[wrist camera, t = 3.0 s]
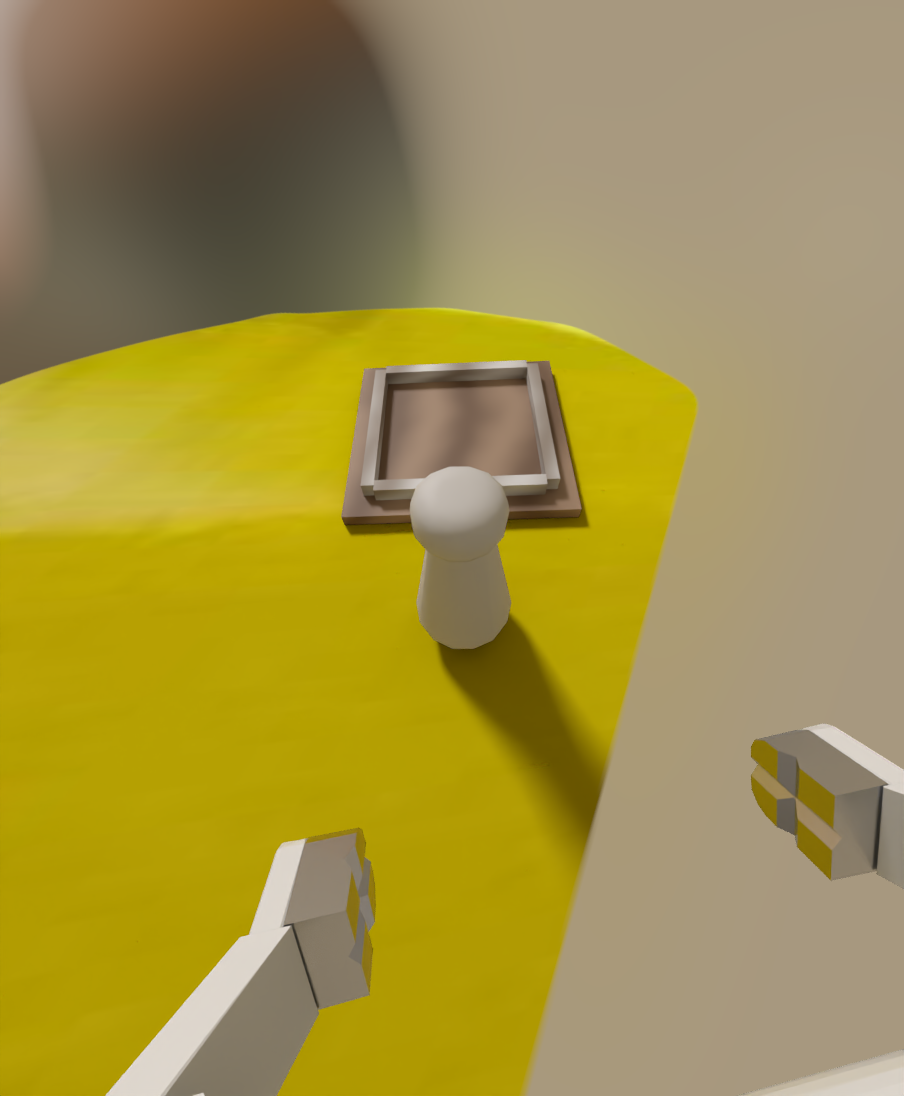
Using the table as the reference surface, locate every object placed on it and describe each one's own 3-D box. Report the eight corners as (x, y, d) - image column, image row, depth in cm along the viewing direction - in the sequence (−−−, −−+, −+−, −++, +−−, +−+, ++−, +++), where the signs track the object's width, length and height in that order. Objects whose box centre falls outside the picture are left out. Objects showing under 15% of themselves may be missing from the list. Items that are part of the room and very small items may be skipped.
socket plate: (344, 524, 33) (337, 507, 31) (366, 377, 43) (361, 357, 41) (578, 517, 33) (585, 498, 31) (547, 370, 42) (551, 349, 40)
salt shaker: (520, 600, 29) (550, 469, 18) (486, 676, 26) (496, 576, 15) (444, 568, 31) (430, 428, 20) (404, 636, 28) (362, 520, 17)
